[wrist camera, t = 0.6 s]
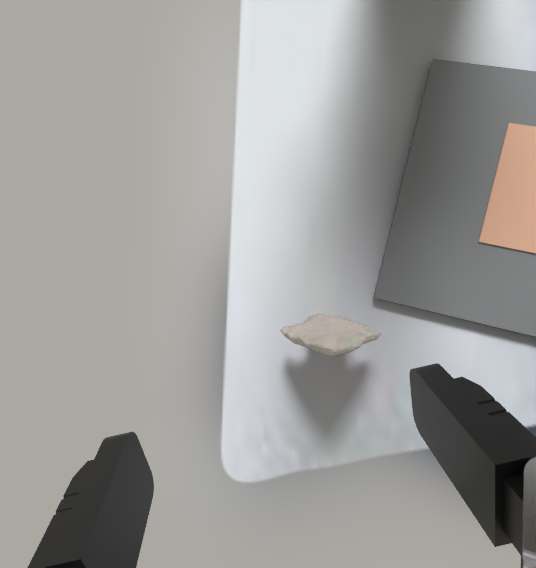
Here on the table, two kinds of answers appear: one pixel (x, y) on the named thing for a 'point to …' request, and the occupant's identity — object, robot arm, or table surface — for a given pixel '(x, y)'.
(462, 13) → the table surface
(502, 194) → the mat
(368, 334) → the arrowhead
